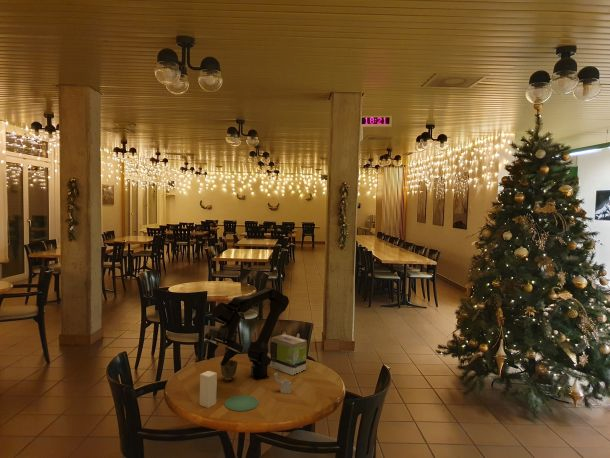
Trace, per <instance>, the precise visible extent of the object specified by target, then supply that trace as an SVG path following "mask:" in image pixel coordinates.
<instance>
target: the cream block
mask: <svg viewBox="0 0 610 458" xmlns="http://www.w3.org/2000/svg"><path fill="white" fill-rule="evenodd" d="M199 375H200V376H199V405H200V406H201V407H205V408H210V407H213V406H214V405H216V404H217V385H218V384H217V382H218V373H217V372H214V371H212V370H207V371H204V372H203V373H200V374H199Z"/></svg>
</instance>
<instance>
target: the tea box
mask: <svg viewBox="0 0 610 458" xmlns="http://www.w3.org/2000/svg"><path fill="white" fill-rule="evenodd" d="M307 348H308V340H307V339H304V338H300V337H296V336H293V335H290V334H285V333H284V334H280V335H279V334H278V335H276V336H273V337H272V336H271V337H270V356H269V358H270V359H271V362H270V364H269V366H270V368H271V369H275V370H277V371H280V372H283V373H286V374H288V375H291V376H294V374H295V375H297V374H296V373H298V374H300V373H302V372H301V371H303V370H305V371H306V370H307V352H308V351H307ZM299 372H300V373H299ZM303 372H304V371H303Z"/></svg>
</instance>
